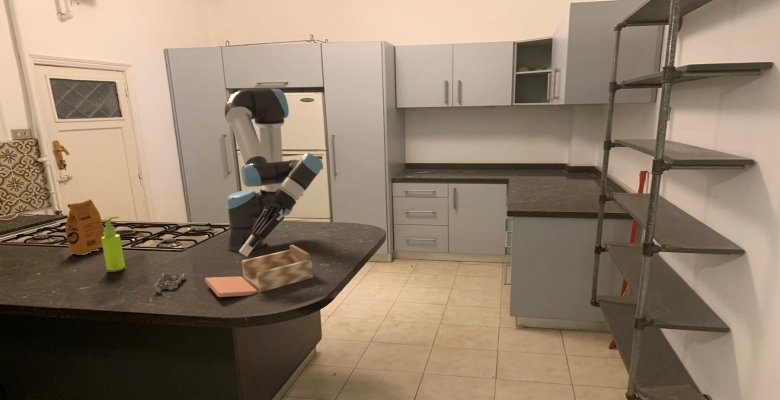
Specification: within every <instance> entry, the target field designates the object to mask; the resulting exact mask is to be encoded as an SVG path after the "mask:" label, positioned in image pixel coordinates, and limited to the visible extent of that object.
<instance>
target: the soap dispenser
mask: <svg viewBox="0 0 780 400" xmlns="http://www.w3.org/2000/svg"><path fill="white" fill-rule="evenodd" d="M115 219H119V216H109V217H105V218H103V219H102V218H101V221H102V222H105V227H104V226H103V231H104V236H103V237H102V238H101V240H102V245H103V249H102V251H103V256H104V261H105V267H106V271H107V270H118V269H122V268H124V267H125V268H126V263H125V258H124V252H123V247H122V240H121V235H120V234H118V233H116V230H115V226H114V225H112V222H111V221H112V220H115Z"/></svg>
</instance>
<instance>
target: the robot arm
mask: <svg viewBox="0 0 780 400" xmlns="http://www.w3.org/2000/svg"><path fill="white" fill-rule="evenodd" d="M289 111H290V110H289V103H288V100H287V97H286V95H285V93H284V92H283V91H282V90H281V89H279V88H253V89H252V88H243V89H240V90H237V91H236V92H234V93H232V95H230V97H229V98H228V99H227V101H226V103H225V106H224V117H225V120H226V122H227V124H228V125H229V126H230V127H231V129H232V133H233V134H234V135H233V136H234V138H235V140H236V144H237V146H238V148H239V151H240V155H241V158H242V161H243V163H244V165H242V166H241V169H240V170H241V171H240V174H241V178H242V179H241V180H242V183H243V185H244V186H245V187H247V188H253V187H257V188H258V187H259V192H256V191H255V190H254V189H245V190H241V191H236V192H232V193H231V194H229V195H228V196H227V198H226V209H227V216H228V217H227V218H228V226H229V233H228V234H229V235H228V240H227V243H226V246H227V250H228V251H230V252H237V253H238V252H239V254H242V255H243V256H244V257H248V256H249V255H250V253H251V252H252V251H255V250H257V249H260V248H262V247H264V246H265V244H266V243H265V242H266V241H265V239H266V238H267V237H268V236H269V235H270V234H271V232H272V231H273V230H275V228H276V227H277V226H279V224H280V223H281V222H282V221H283V220H285V216H286V217H287V216H289V215H290V214H291V213H292V211H293V208H294V206H295V205H296V204H297V201H298V200H300V198H301V197H303V196H304V193H305V191H307V189H308V188H309V187H310V185H311V184H312V182H313V181H314V180H315V178H316V177H317V176H318V175H319V174H320V172H321V170H322V169H323V167H324V164H323V162H322V161H321V160H320V158H318V157H317V156H315V155H314V154H312V153H310V152H305V153H304V154H303V155H302V156H301V157H300V159H290V160H284V158H283V143H282V126H284V124H285V119H286V118H288V117H289V113H290V112H289ZM252 120H254V124H255V125H256V126H257V127H258V129H259V135H258V133H257V132H256V129H255V125H254V124H253V121H252ZM258 136H259V137H258Z"/></svg>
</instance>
